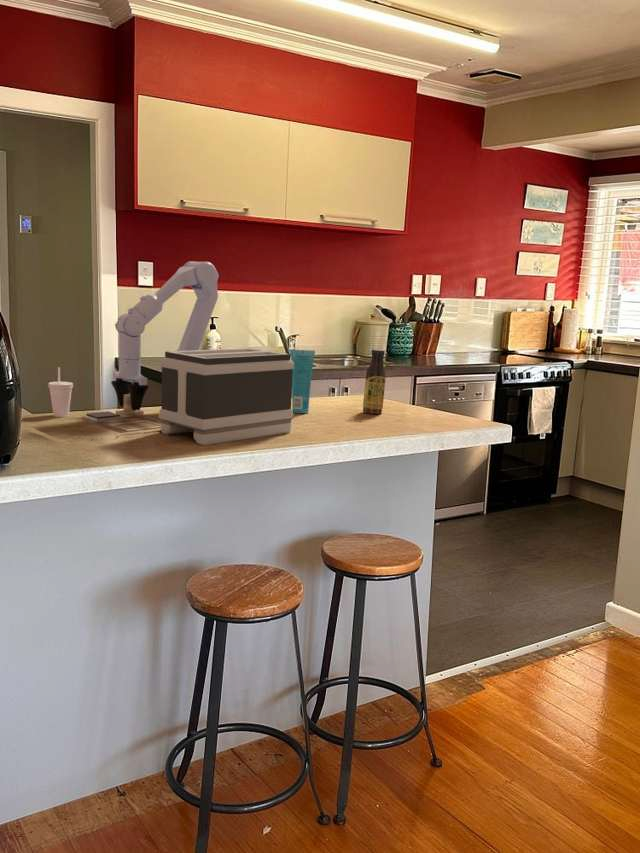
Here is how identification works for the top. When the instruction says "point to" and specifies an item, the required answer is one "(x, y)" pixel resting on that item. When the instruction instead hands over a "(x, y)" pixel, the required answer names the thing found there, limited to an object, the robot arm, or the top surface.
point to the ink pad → (103, 417)
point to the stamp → (129, 409)
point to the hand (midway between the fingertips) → (129, 408)
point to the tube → (301, 379)
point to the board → (130, 424)
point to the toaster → (226, 394)
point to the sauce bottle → (375, 384)
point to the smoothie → (60, 397)
